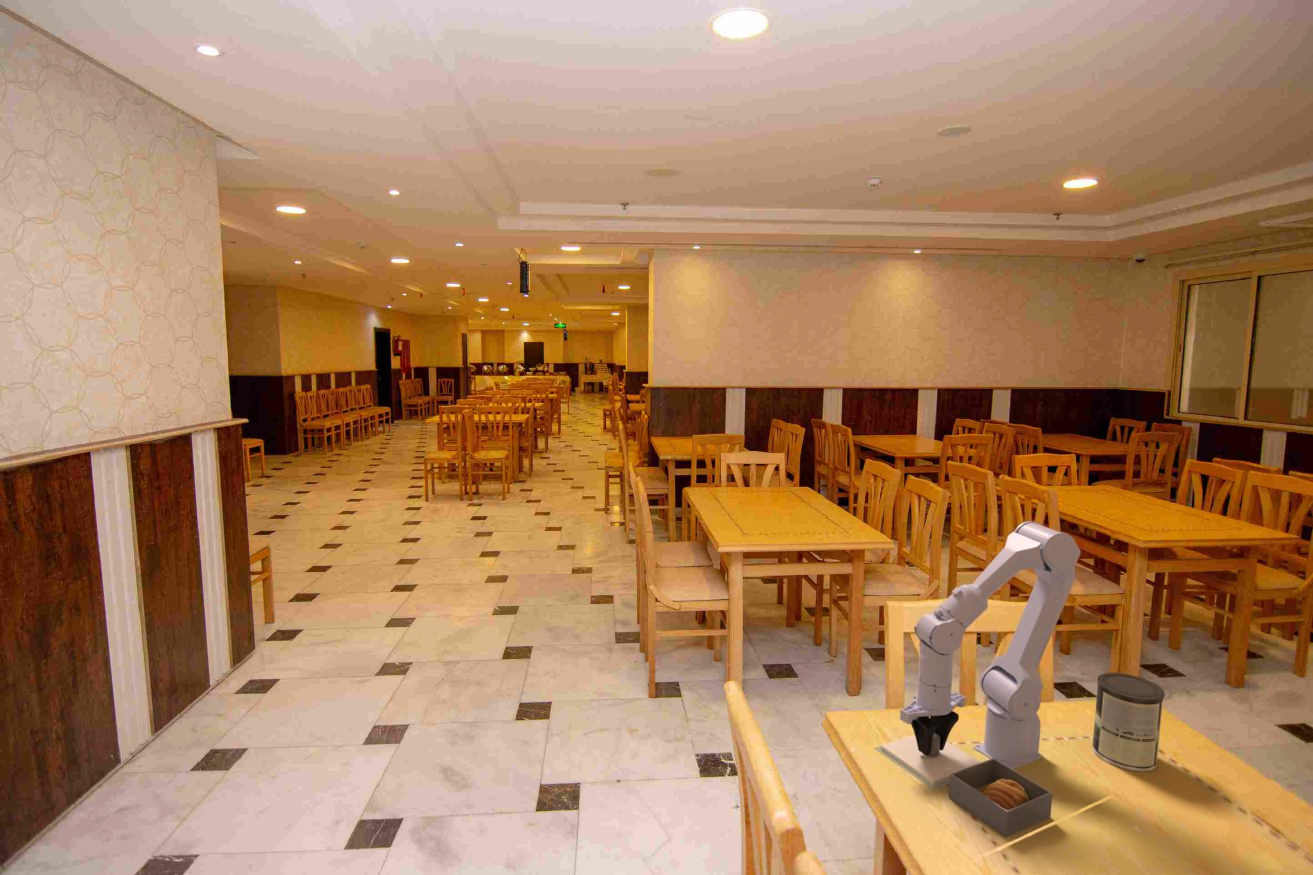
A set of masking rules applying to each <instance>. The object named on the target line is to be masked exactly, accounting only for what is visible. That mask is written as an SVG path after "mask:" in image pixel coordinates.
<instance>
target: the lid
mask: <svg viewBox="0 0 1313 875" xmlns="http://www.w3.org/2000/svg"><path fill="white" fill-rule="evenodd" d="M880 746H881V750H882V751H884V752H885V753H887V754H888V755H889V756H891V757H892V758H894V759H895V760H897V761H898V762H900V763H901V764H902V765H904V766H905V767H907V768H908V769H910V770H911V771H912V772H914V773H915V774H917V775H918V776H920V777H921V778H923V779H924V780H925V781H927V782H928V783H930V784H931V785H933V786H934V785H937V784H940V783H942V782H945V781H947V780H950V774H952V773H955V772H957V771H960V770H963V769H965V768H968V767H971V766H973V765H976V764H979V763H981V762H982V761H980V760H978V759H976V758H974V757H973V756H971V755H970V754H968V753H967V752H965V751H963V750H961V749H960V748H958V747H957V746H955V745H954V744H952V743H950V742H949V741H948V740H947V741H946V744H945V746H944V749H943V750H941V751H940V736H939V735H938V734H937V733H934V735H933V739H932V746H931V752H930V754H929V755H925V754H923V753H922V752H920V751H919V750H918V746H917V741H916V737H915V733H913V734H912V735H909V736H908V735H907V736H905V737H901V738H900V739H896V740H893V741H890V742H887V743H884V744H881V745H880Z"/></svg>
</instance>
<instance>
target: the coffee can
mask: <svg viewBox="0 0 1313 875" xmlns="http://www.w3.org/2000/svg"><path fill="white" fill-rule="evenodd" d="M1096 682H1097V687H1096V688H1097V689H1096V701H1095V714H1094V725H1093V726H1094V727H1093V728H1094V729H1093V736H1092V737H1093V738H1092V745H1091V749H1092V751H1093V753H1094V754H1095V755H1096V756H1097V757H1098V758H1099V759H1100V760H1102V761H1104V762H1106V763H1108V764H1110V765H1112V766H1115V767H1117V768H1120V769H1122V770H1127V771H1132V772H1142V773H1143V772H1144V773H1145V772H1150V771H1151V772H1152V771H1154V770H1155V769H1156V768H1157V767H1158V754H1159V742H1160V734H1161V733H1160V732H1161V724H1162V712H1163V702H1164V699H1165V695H1166V694H1165V691H1164V689H1163V688H1162V687H1161V686H1160V685H1158V684H1156V682H1155V683H1154V682H1152V681H1150V680H1148V679H1145V678H1143V677H1140V676H1136V675H1132V674H1128V673H1121V672H1106V673H1105V672H1104V673H1101V674H1099V675H1098V676H1097V681H1096Z"/></svg>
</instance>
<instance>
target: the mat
mask: <svg viewBox="0 0 1313 875" xmlns="http://www.w3.org/2000/svg"><path fill="white" fill-rule="evenodd" d="M874 750H876V751H877V752H878V753H880V754H881V755H882V756H884V757H886V758H887V759H889V760H890V761H892V762H893V763H894V764H895V765H897V766H899V767H900V768H901V769H903V770H904V771H906V772H907V773H909V774H910V775H912V776H913V777H914V778H916V779H917V780H919V781H920V782H922V783H923V784H924V785H926V786H927V787H929V788H930V789H931V790H933V791H935V790H937V789H940V788H943V787H945V786H948V785H949V782H950V780H947V781H945V782H942V783H940V784H937V785H934V786H933V785H931V784H930V783H928V782H927V781H925V780H924V779H923V778H921V777H920V776H918V775H917V774H915V773H914V772H912V771H911V770H910V769H908V768H907V767H905V766H904V765H902V764H901V763H900V762H898V761H897V760H895V759H894V758H892V757H891V756H889V755H888V754H887V753H885V752H884V751H882V750H881V745H880V746H877V747H875V748H874Z"/></svg>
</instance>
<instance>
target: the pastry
mask: <svg viewBox="0 0 1313 875" xmlns="http://www.w3.org/2000/svg"><path fill="white" fill-rule="evenodd" d="M980 793H981V794H983V795H984V796H986V797H987V798H989V799H990V800H992V801H994V802H995V803H997V804H998V805H1000V806H1001V807H1003V808H1004V809H1006V810H1010V809H1012V808H1014V807H1017V806H1019V805H1021V804H1024V803H1026V802H1028V801H1030V800H1029V797H1028V795H1027V794H1026V792H1025V789H1024V788H1023V787H1022V786H1021V785H1020V784H1018V783H1016V782H1015V781H1013V780H1005V779H1003V778H1002V779H1001V780H997V781H996V782H995V783H993V782H991V783H989V784H987V785H986V786H985V788H984V789H982V791H981V792H980Z"/></svg>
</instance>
